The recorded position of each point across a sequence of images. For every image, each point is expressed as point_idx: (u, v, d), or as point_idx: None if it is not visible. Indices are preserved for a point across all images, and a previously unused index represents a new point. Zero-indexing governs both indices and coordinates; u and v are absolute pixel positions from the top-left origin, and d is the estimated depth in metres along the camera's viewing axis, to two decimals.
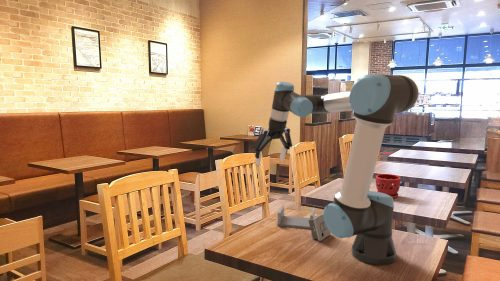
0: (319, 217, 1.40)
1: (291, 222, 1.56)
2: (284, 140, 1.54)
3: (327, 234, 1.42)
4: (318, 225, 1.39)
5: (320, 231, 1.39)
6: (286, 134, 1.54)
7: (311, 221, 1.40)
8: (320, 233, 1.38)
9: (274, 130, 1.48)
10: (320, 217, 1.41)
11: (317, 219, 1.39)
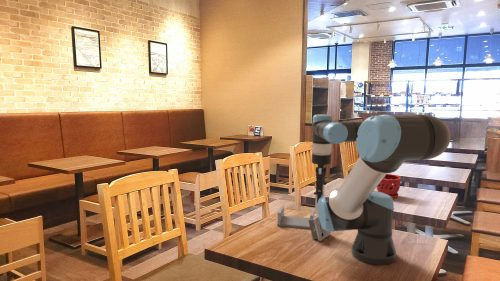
0: None
1: (291, 222, 1.56)
2: None
3: (327, 234, 1.42)
4: (318, 225, 1.39)
5: (320, 231, 1.39)
6: None
7: (311, 221, 1.40)
8: (320, 233, 1.38)
9: (323, 166, 1.37)
10: None
11: (317, 219, 1.39)
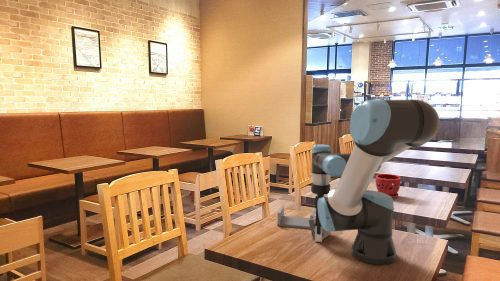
0: None
1: (291, 222, 1.56)
2: None
3: (327, 234, 1.42)
4: None
5: None
6: None
7: (311, 221, 1.40)
8: None
9: None
10: None
11: None
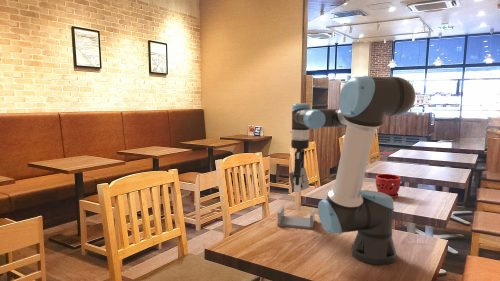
0: None
1: (291, 222, 1.56)
2: None
3: (306, 186, 1.54)
4: None
5: None
6: None
7: (291, 174, 1.52)
8: None
9: (301, 150, 1.50)
10: None
11: None
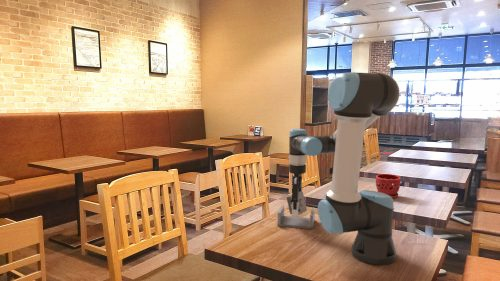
0: None
1: (291, 222, 1.56)
2: (300, 185, 1.59)
3: (303, 210, 1.57)
4: None
5: None
6: None
7: (289, 198, 1.54)
8: None
9: (299, 175, 1.53)
10: None
11: None
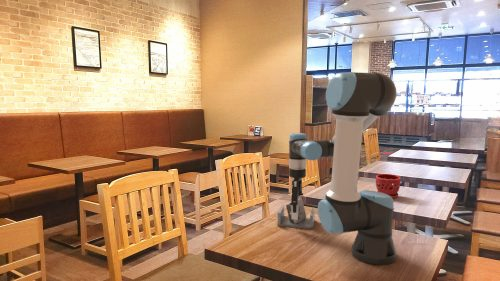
0: None
1: (291, 222, 1.56)
2: (300, 187, 1.60)
3: (303, 218, 1.58)
4: None
5: None
6: None
7: (288, 206, 1.56)
8: None
9: (299, 180, 1.53)
10: None
11: None
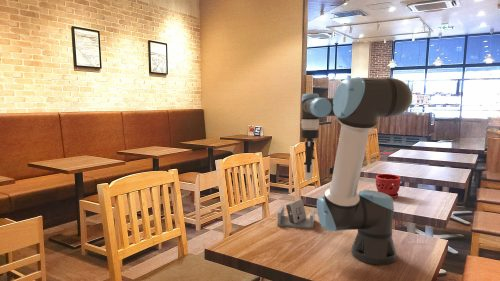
0: (295, 202, 1.56)
1: (291, 222, 1.56)
2: None
3: (303, 218, 1.58)
4: (295, 209, 1.55)
5: (296, 215, 1.55)
6: None
7: (288, 206, 1.56)
8: (296, 216, 1.54)
9: None
10: (296, 203, 1.57)
11: (293, 204, 1.55)
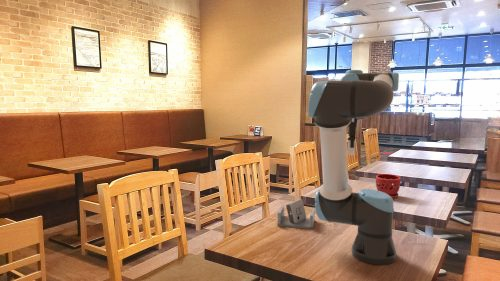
0: (295, 202, 1.56)
1: (291, 222, 1.56)
2: None
3: (303, 218, 1.58)
4: (295, 209, 1.55)
5: (296, 215, 1.55)
6: None
7: (288, 206, 1.56)
8: (296, 216, 1.54)
9: None
10: (296, 203, 1.57)
11: (293, 204, 1.55)
